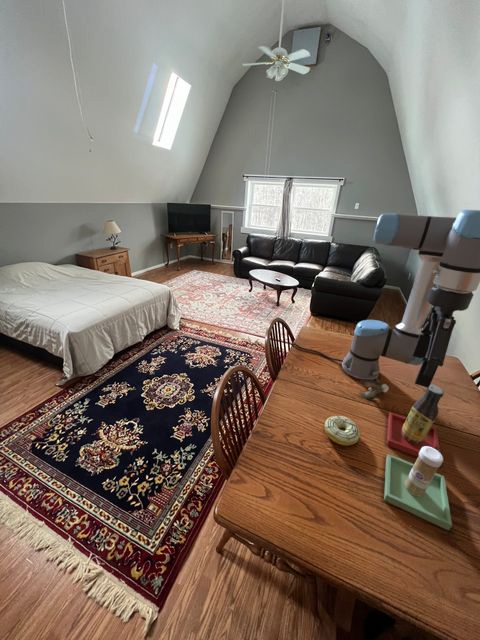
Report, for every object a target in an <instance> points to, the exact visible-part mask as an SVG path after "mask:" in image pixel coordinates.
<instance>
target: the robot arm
mask: <svg viewBox="0 0 480 640" xmlns="http://www.w3.org/2000/svg"><path fill="white" fill-rule="evenodd" d="M373 242H374V243H375V244H377V245H383V246H390V247H399V248H404V249H407V250H408V249H409V250H413V251H418V253H417V257H418V258H419V260H420V262H419V266H418V268H417V272H416V275H415V277H414V281H413V285H412V288H411V291H410V294H409V297H408V301H407V304H406V306H405V309H404V313H403V316H402V319H401V321H400V323H398V324H395V327H394V329H392V328H390V326H389V324H388V323H386V322H384V321H381V320H377V319H364V320H361V321H358V322H357V324H356V325H355V326H356V327H355V330H354V331H353V337H352V341H351V345H350V349H349V352H348V353H347V354H346V356H345V357H344V358H343V359H339V358H334V357H331V356H328V355H326V354H325V353H322V352H320V351H318V350H315V349H310V348H305V347H301V346H300V345H298V344H297V343H295V342H292V343H290V345H291V346H293V345H294V346H296V348H298V349H300V350H303V351H308V352H312V353H316V354H319V355H321V356H323V357H325V358H326V359H329V360H331V361H336V362H340V363H341V369H342V371H343V372H344V373H345V374H346V375H347V376H349V377H350V378H353V379H356V380H359V381H362V380H364V379H371V380H373V381H375V380H376V381H377V378H378V379H379V376H380V361H379V359H380V357H383V358H387V359H390V360H394V361H397V362H401V363H404V364H406V365H412V366H420V368H419V370H418V373H417V376H416V378H415V381H414V384H415V385H417V386H422V387H424V388H429V386H430V385H432V381H433V380H434V377H435V375H436V372H437V370H438V368H439V367H443V366H444V362H445V358H446V355H447V351H448V347H449V344H450V341H451V337H452V333H453V330H454V328H455V325H456V324H457V319H455V316H454V312H457V311H458V312H462V311H466V310H467V309H469V307H470V304H471V303H472V300H473V297H474V293H473V292H475V291H477V289H478V287H479V285H480V209H463V210H461V211H460V212H459V213H457V216H456V217H450V216H432V215H417V214H416V215H415V214H403V213H402V214H401V213H397V212H395V213H382V214H381V215H380V216H378V219H377V223H376V225H375V229H374V234H373Z"/></svg>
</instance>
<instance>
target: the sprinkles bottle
mask: <svg viewBox="0 0 480 640" xmlns="http://www.w3.org/2000/svg"><path fill="white" fill-rule="evenodd" d="M443 462H444V456H443V455H442V453H441V451H440V452H438V451H437V450H436V449H434V448H432V447H429V446H424V447H422V448H421V450H420V452H419V456H418V457H416V460H415V462H414V463H413V464H414V466H413V468H412V470H411V472H410V474H409V476H408V478H407V480H406V481H405V487H406V489H407V490H408V491H409V492H410V493H411V494H413V495H414V496H417V497H422V496H423V495H424V494H425V491H426V489H427V488H428V486H429V484H430V483H431V481H432V479H433V477H434V475H435V473H437V471H438V469H439V468H440V467H441V466H442V464H443Z"/></svg>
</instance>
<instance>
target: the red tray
mask: <svg viewBox="0 0 480 640" xmlns="http://www.w3.org/2000/svg"><path fill="white" fill-rule="evenodd" d="M406 419H407V417H405V416H402V415H399V414H396V413H393V412H389V414H388V417H387V433H386V434H387V435H386V436H387V437H386V446H389V447H391V448H393V449H396V450H399V451H401V452H403V453H406V454H409V455H411V456H414V457H416V458H418V456H419V452H420V450H421V448H422V447H424V446H429V447H432V448H434V449H436V450H437V451H438V452H440V453H441V449H440V448H441V447H440V443H439V442H440V441H439V436H438V430H437V427H434V426H431V428H430V430H429V432H428V433H427V435H426V437H425V439H424V440H423V441H422V443H420V444H413V443H411V442H409V441H407V440H406V439H405V438H404V437H403V436H402V433H401V431H402V427H403V425H404V423H405V421H406Z"/></svg>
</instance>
